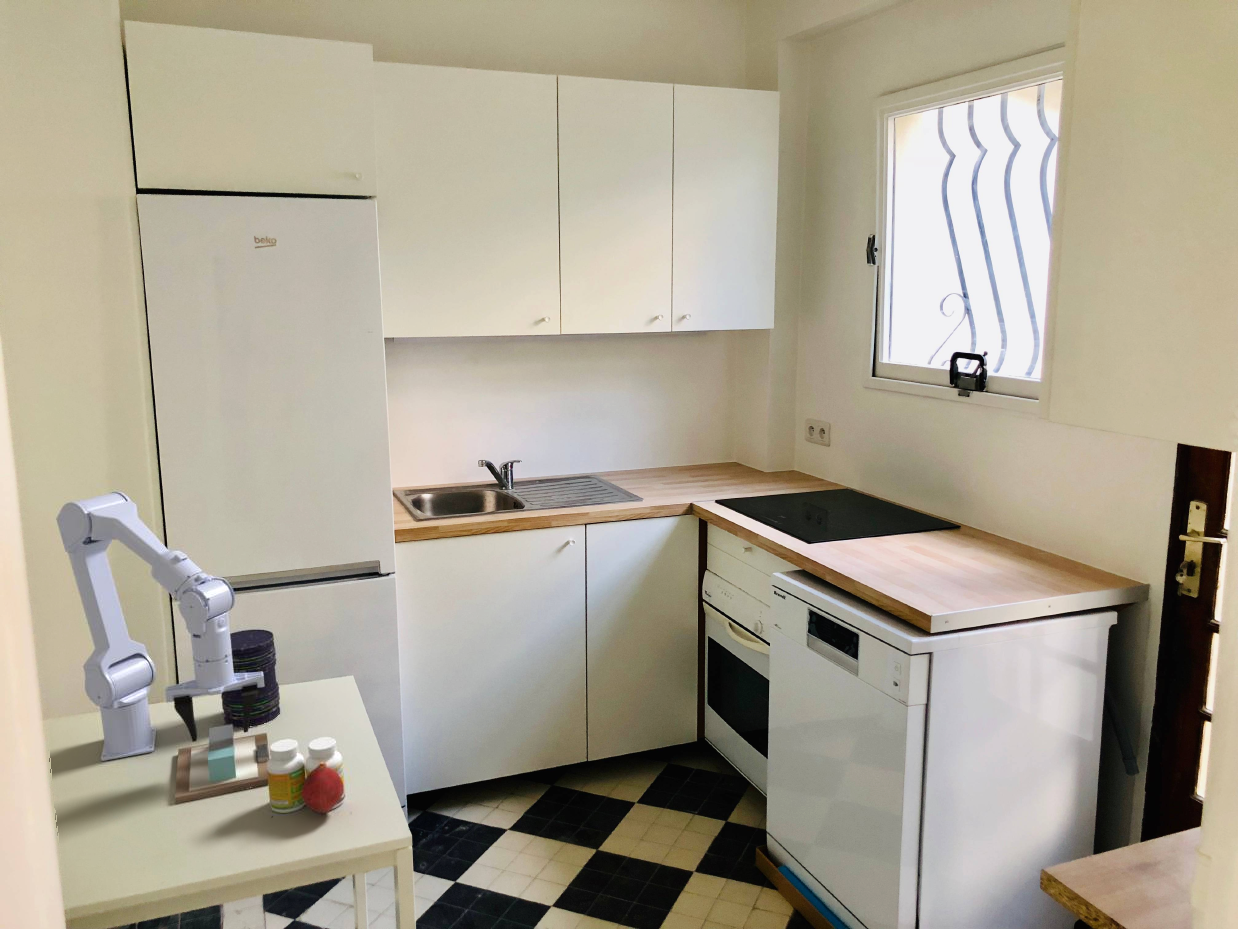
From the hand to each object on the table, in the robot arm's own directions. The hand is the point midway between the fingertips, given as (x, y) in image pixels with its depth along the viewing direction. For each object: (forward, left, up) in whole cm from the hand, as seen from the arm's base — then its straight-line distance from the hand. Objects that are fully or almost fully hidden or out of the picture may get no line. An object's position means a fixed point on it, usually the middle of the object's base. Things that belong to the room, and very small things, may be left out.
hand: (220, 734), depth 154 cm
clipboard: (0, 0, -6) cm, 6 cm away
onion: (+21, +14, -6) cm, 26 cm away
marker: (0, 0, -5) cm, 5 cm away
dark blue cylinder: (-19, +5, -6) cm, 21 cm away
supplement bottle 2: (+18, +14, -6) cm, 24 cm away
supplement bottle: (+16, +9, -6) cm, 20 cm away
